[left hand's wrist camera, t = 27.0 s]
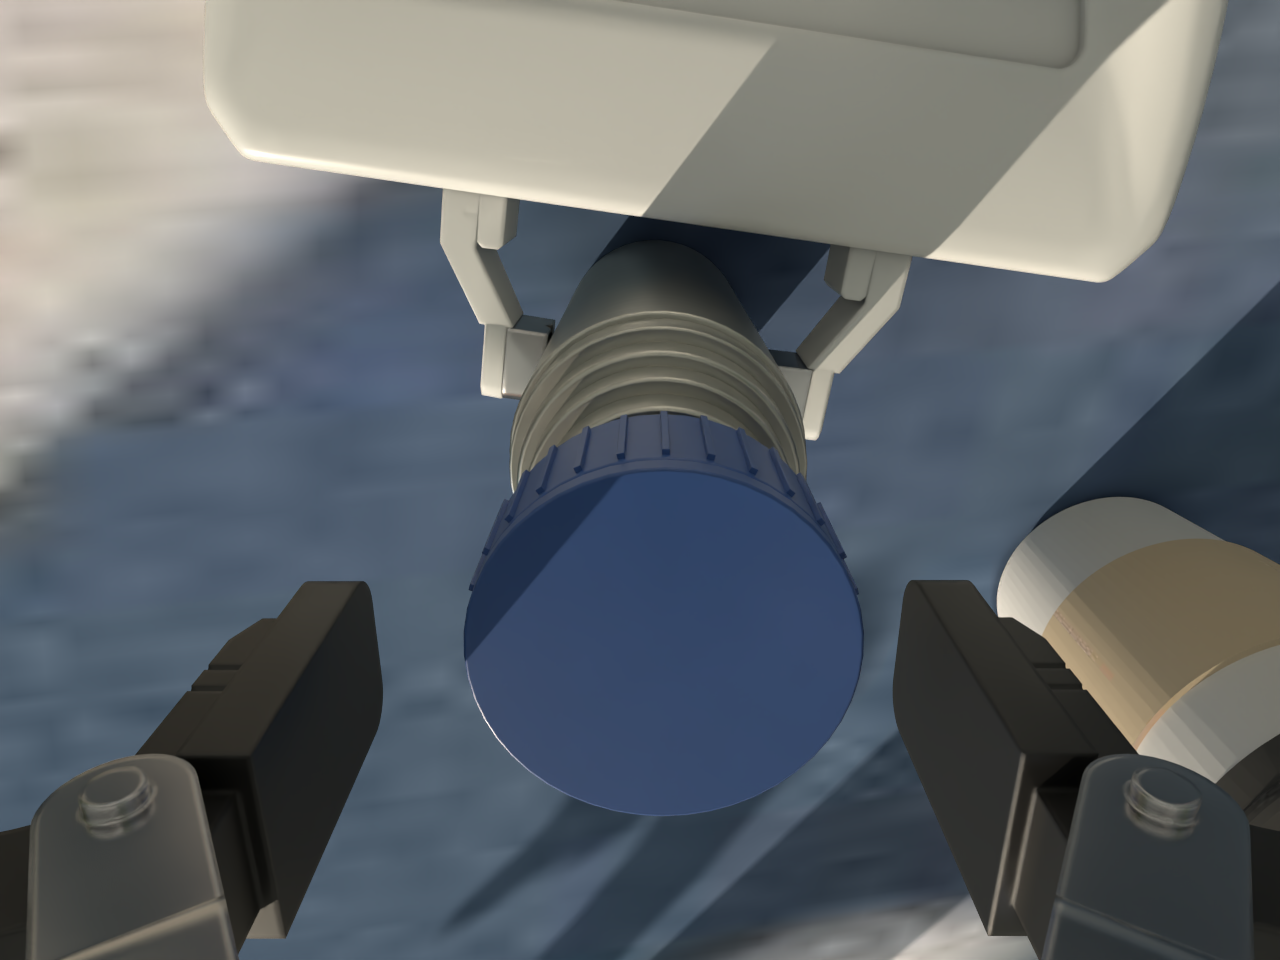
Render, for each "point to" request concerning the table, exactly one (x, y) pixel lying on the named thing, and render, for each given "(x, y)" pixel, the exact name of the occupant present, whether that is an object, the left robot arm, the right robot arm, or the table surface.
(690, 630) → the cap
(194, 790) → the left robot arm
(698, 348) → the bottle
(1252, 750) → the coffee cup
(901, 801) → the table surface
